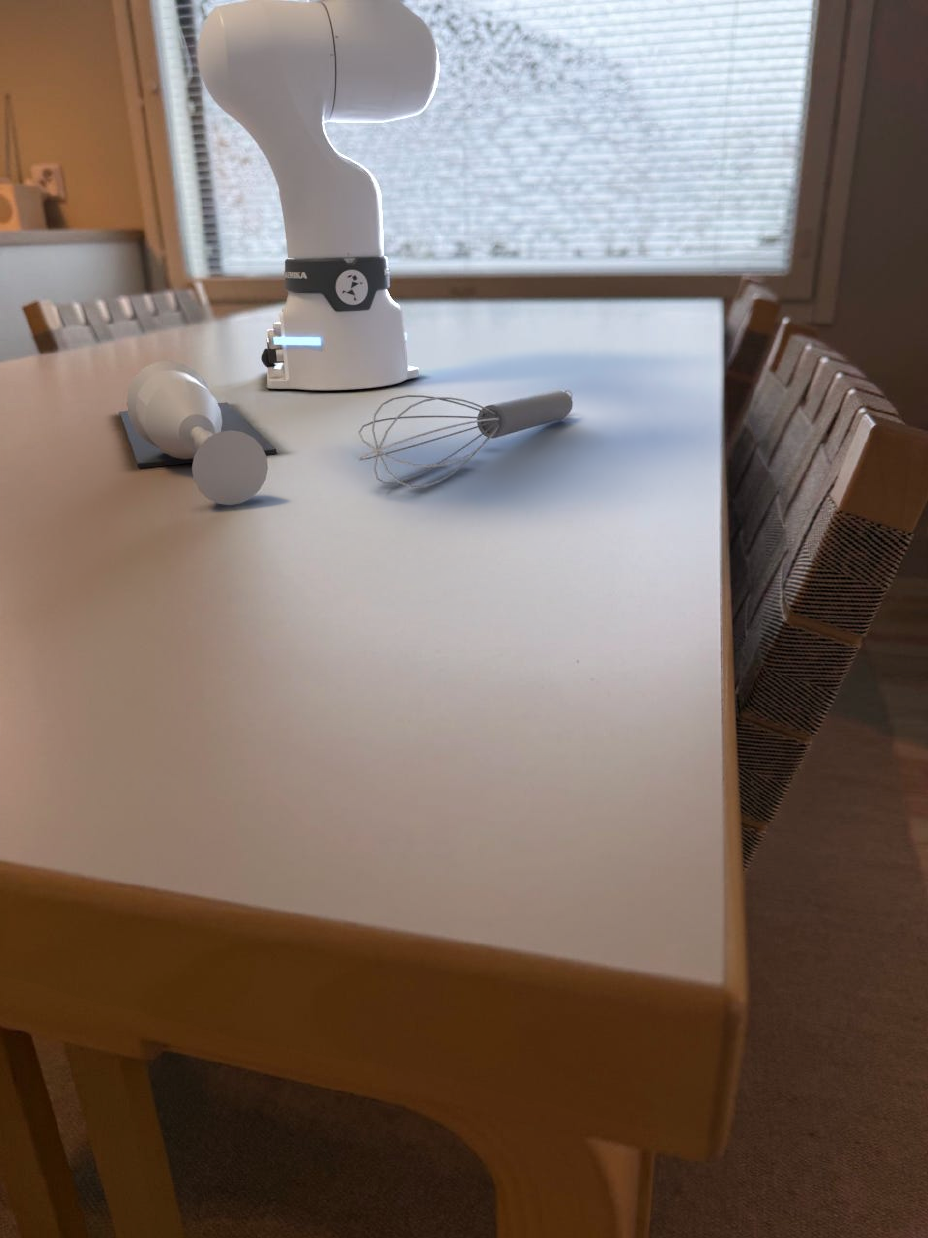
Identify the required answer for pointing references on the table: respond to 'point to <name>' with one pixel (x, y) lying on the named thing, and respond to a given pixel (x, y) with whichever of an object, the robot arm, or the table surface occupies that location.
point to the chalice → (195, 431)
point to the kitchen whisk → (481, 424)
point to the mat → (155, 457)
